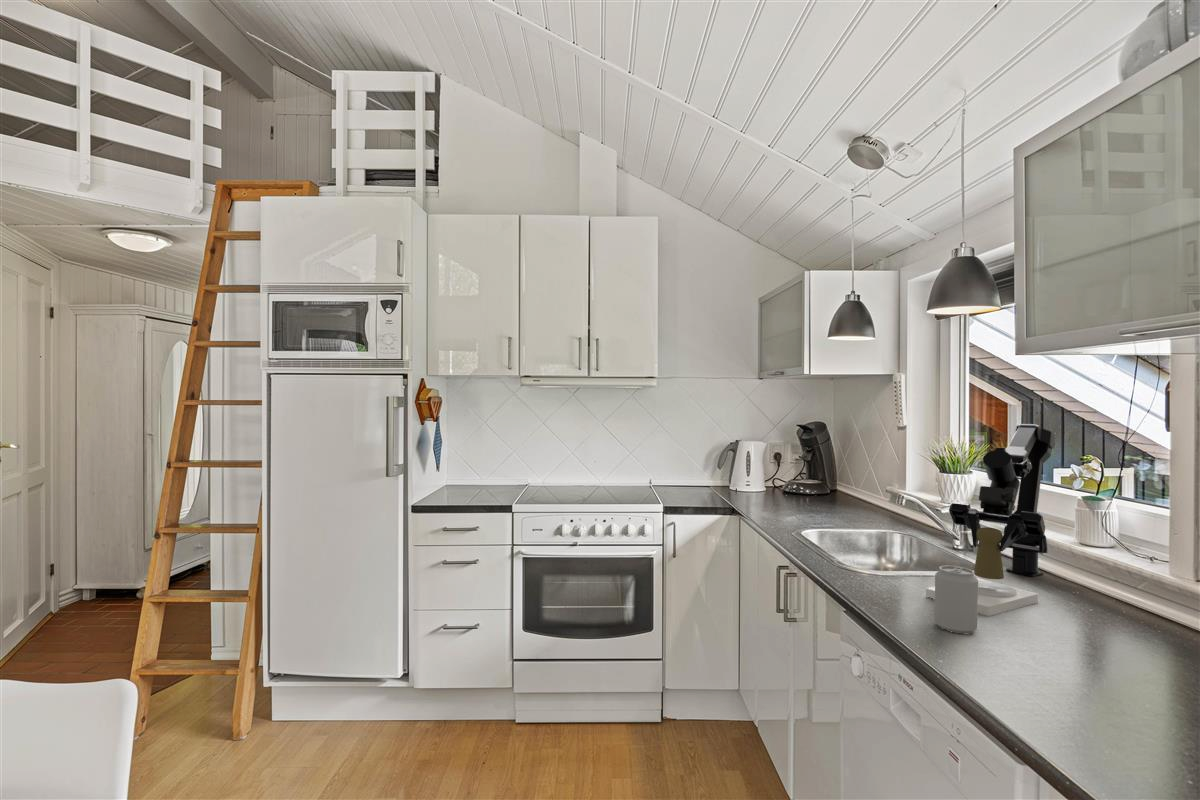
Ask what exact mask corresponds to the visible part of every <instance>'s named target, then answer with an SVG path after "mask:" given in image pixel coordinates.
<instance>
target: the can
mask: <svg viewBox="0 0 1200 800" xmlns="http://www.w3.org/2000/svg"><path fill="white" fill-rule="evenodd" d="M938 569H939V570H938V571H937V572H936V573H935V575H934V587H935V600H933V601H934V605H933V606H934V607H933V609H934V610H933V621H934V623H935V624H936V625H937V626H938V627H939V626H940V627H941V628H943V629H946V630H949V631H952V632H957V633H970V634H972V633H973V632H974V631H976V630H978V613H977V611H978V579H977V578H978V577H977V576H976V575H974V573H975V572H974V569H973V570H972V569H970V568H967V567H964V566H957V565H941V566H939V567H938ZM940 627H939V628H940ZM941 628H940V629H941ZM943 629H942V630H943ZM952 632H951V633H952ZM971 632H972V633H971ZM957 633H956V634H957Z"/></svg>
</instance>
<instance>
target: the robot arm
mask: <svg viewBox="0 0 1200 800" xmlns="http://www.w3.org/2000/svg"><path fill="white" fill-rule="evenodd" d="M1055 445H1056V437H1055V435H1054V434H1053V432H1052V431H1050V430H1048V429H1045V428H1043V427H1041V425H1038V424H1033V423H1020V424H1017V425H1016V428H1015V432H1014V434H1013V436H1012V438H1011V440H1010V442H1009V443H1008V445H1007V447H999V446H997V447H995V449H994V450H992V451H989V452H987V453H985V454H984V455H983V457H982V461H983V464H984V465H983V466H984V469H985V471H986V475H987V479H988V480H990V481H991V482H990V485H989V486H980V488H979V493H978V501H980V504H979V505H980V509H983V510H982V511H981V510H978V509H977V508H972V507H971V505H970V503H961V502H952V503H951V504H950V505H949V508H948V512H949V514H950V517H951V520H952V522H953V524H955V525H958V526H965V527H966V528H967V529H969V530H970V531H971V538H972V539H971V540H972V544H973V547H974V548H976V547H978V545H979V541H978V539H977V536H976V533H977V530H978V529H979V528H982V527H981V523H980V522H981V521H982V522H986V523H994V524H1001V525H1005V526H1004V530H1003V534H1002V535H1003V538H1002V540H1001V543H1000V551H1001V553H1002V552H1003V551H1005V550H1006V549H1012V556H1011V558H1012V562H1011V564H1012V565H1011V567H1007V568H1006V569H1005V571H1007V572H1011V573H1015V574H1021V575H1024V576H1027V577H1036V576H1040V575H1044V574H1045V572H1044V571H1041V570H1039V554H1048V551H1049V550H1048V548H1049V547H1048V540H1047V536H1046V535H1045V533H1046V532H1045V531H1046V524H1045V521H1044V516H1043V514H1041V513H1040V512H1038V505H1039V498H1040V491H1041V490H1040V489H1041V481H1042V472H1043V464H1045V463H1046V462H1047V460H1048V459H1049V458H1051V456H1052V451H1053V449H1055V447H1056V446H1055ZM1019 478H1020V479H1019ZM1017 496H1018V498H1017ZM1016 499H1017V501H1016ZM1016 502H1017V506H1016V505H1015V504H1016ZM1015 508H1016V510H1015ZM1043 573H1044V574H1043Z"/></svg>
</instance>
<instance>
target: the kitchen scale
mask: <svg viewBox="0 0 1200 800" xmlns="http://www.w3.org/2000/svg"><path fill="white" fill-rule="evenodd" d="M976 578H977V579H978V611H977V614H979V613H980V615H983V616H985V617H986V616H987V617H991V616H995V615H997V614H1002V613H1004V612H1005V613H1006V612H1009V611H1012V610H1017V609H1020V608H1023V607H1027V606H1032V605H1033V604H1034V605H1035V604H1038V603H1039V593H1036V592H1032V591H1029V590H1025V589H1022V588H1021V589H1020V588H1017V587H1013V586H1009V585H1007V584H1002V583H999V582H995V581H990V580H988V579H987V580H986V579H983V578H980V577H976ZM926 596H928V597H930V598H929V599H931V598H934V599H935V586H931V587H927V588H925V597H926ZM934 599H933V600H934Z"/></svg>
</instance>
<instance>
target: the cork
mask: <svg viewBox="0 0 1200 800" xmlns="http://www.w3.org/2000/svg"><path fill="white" fill-rule="evenodd" d="M1003 535H1004V534H1003V533H1002V531H1001V530H999V529H997V528H995V527H990V526H989V527H988V526H987V527H981V528H979V529H978V530H977V533H976V536H977V539H978V544H977V552H976V558H975V563H974V569H973V571H974V572H975V573H974V576H975V577H978V578H981V579H983V578H984V579H987V580H1003V579H1005V575H1004V566H1003V558H1002V552H1001V551H1000V543H1001V540H1002V538H1003Z"/></svg>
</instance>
